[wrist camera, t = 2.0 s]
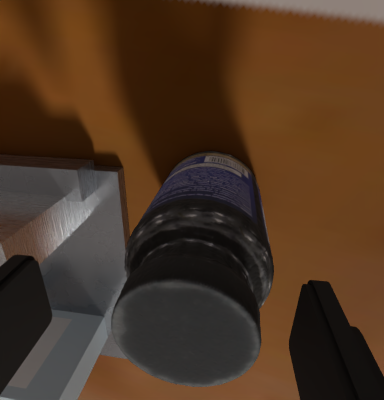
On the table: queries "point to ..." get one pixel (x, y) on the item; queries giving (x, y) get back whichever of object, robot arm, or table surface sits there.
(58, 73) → the table surface
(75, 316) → the sliding jaw
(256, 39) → the table surface
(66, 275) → the vise base
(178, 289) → the pill bottle
